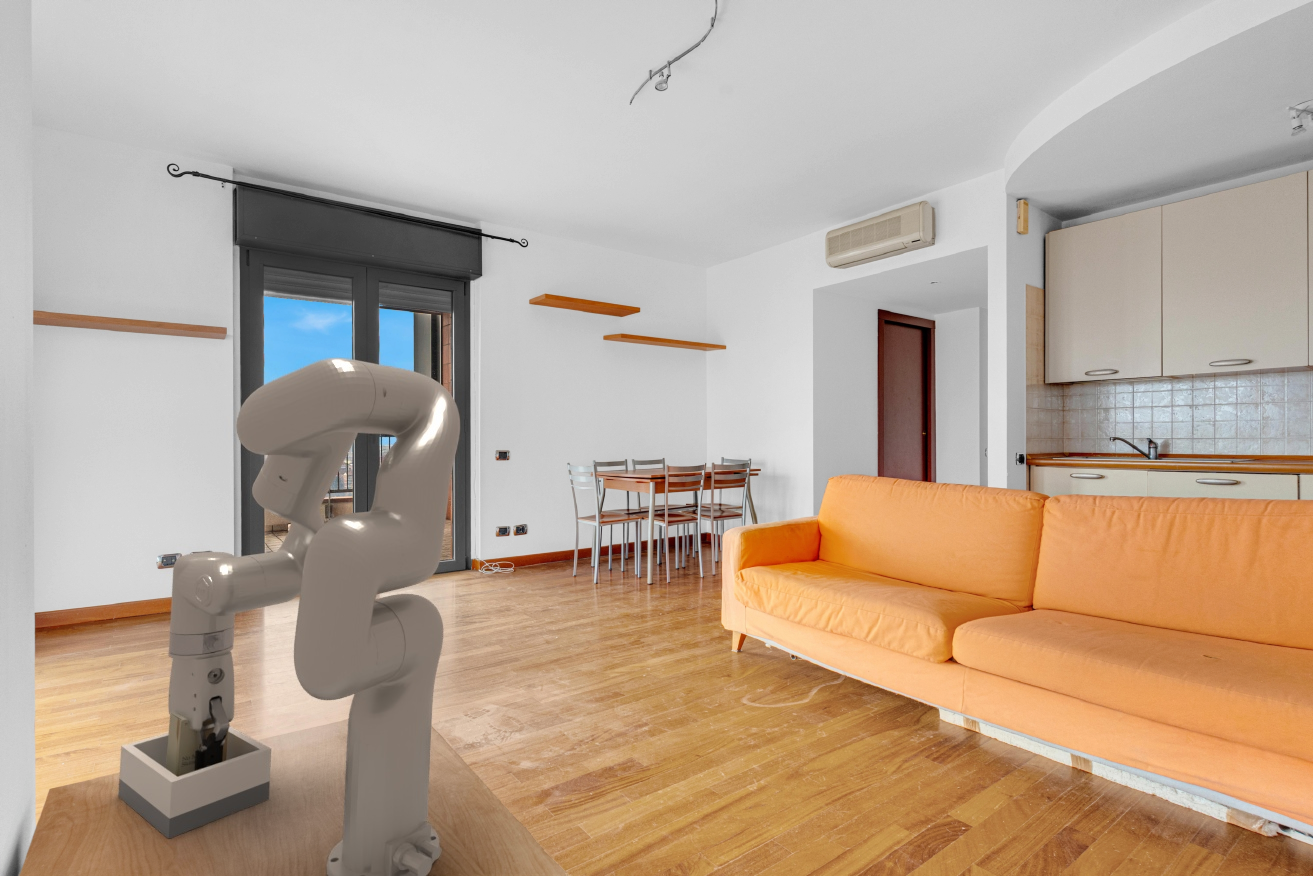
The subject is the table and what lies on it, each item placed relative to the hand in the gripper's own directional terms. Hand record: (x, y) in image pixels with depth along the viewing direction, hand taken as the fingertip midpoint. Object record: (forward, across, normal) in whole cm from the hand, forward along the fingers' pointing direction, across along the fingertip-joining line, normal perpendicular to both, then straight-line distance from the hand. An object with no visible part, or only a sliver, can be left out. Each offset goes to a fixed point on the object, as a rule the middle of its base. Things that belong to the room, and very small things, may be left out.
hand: (195, 767), depth 91 cm
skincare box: (+4, 0, 0) cm, 4 cm away
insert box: (+4, 0, 0) cm, 4 cm away
